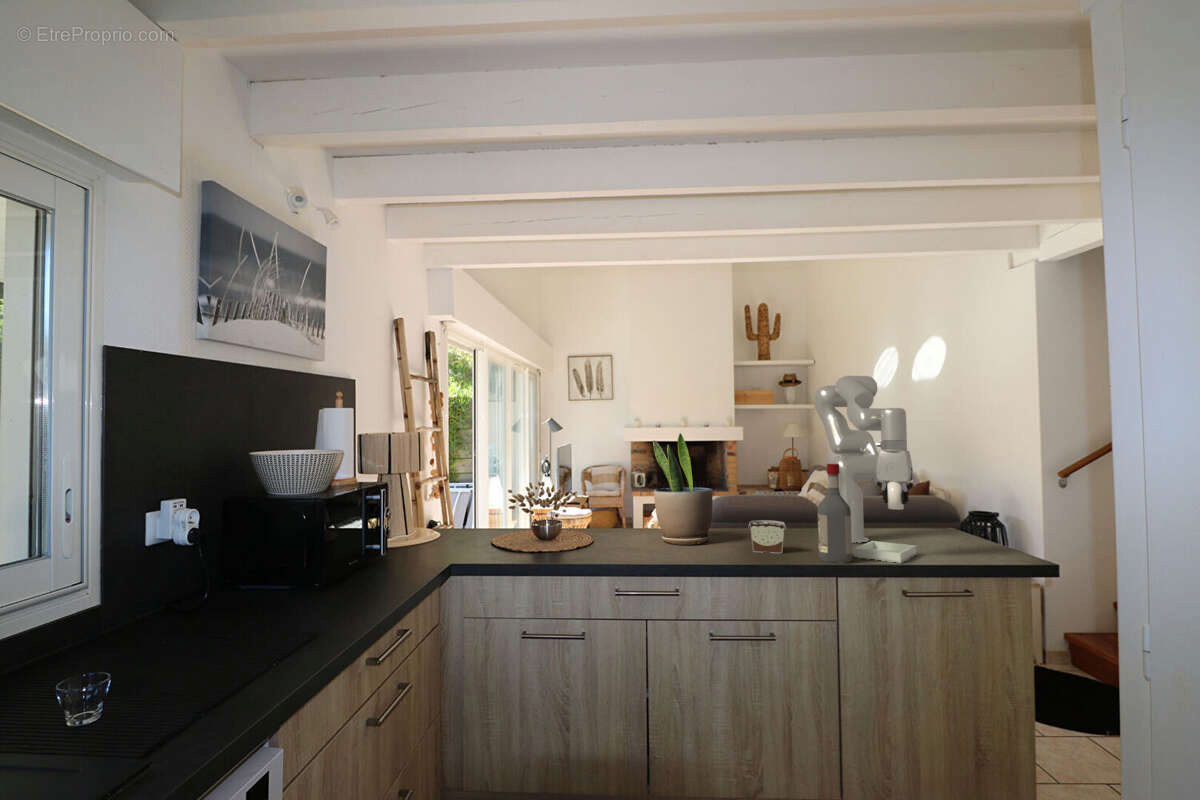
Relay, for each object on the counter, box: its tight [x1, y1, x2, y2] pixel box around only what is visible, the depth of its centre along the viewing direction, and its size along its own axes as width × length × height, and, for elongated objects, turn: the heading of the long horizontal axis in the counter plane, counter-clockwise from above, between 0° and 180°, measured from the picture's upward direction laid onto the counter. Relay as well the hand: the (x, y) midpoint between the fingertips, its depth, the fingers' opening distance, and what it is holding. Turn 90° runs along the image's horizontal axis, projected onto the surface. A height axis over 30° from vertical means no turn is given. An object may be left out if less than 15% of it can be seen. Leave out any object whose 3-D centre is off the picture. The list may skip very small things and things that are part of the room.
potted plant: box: [652, 432, 713, 546], centre depth 231 cm, size 21×22×40 cm
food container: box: [748, 519, 787, 554], centre depth 212 cm, size 12×6×10 cm, turn 71°
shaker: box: [887, 482, 905, 511], centre depth 200 cm, size 5×5×11 cm
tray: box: [853, 540, 918, 564], centre depth 202 cm, size 14×18×3 cm
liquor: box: [817, 463, 853, 564], centre depth 196 cm, size 9×9×30 cm
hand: (895, 502), depth 200 cm, fingers closed on shaker, 4 cm apart
